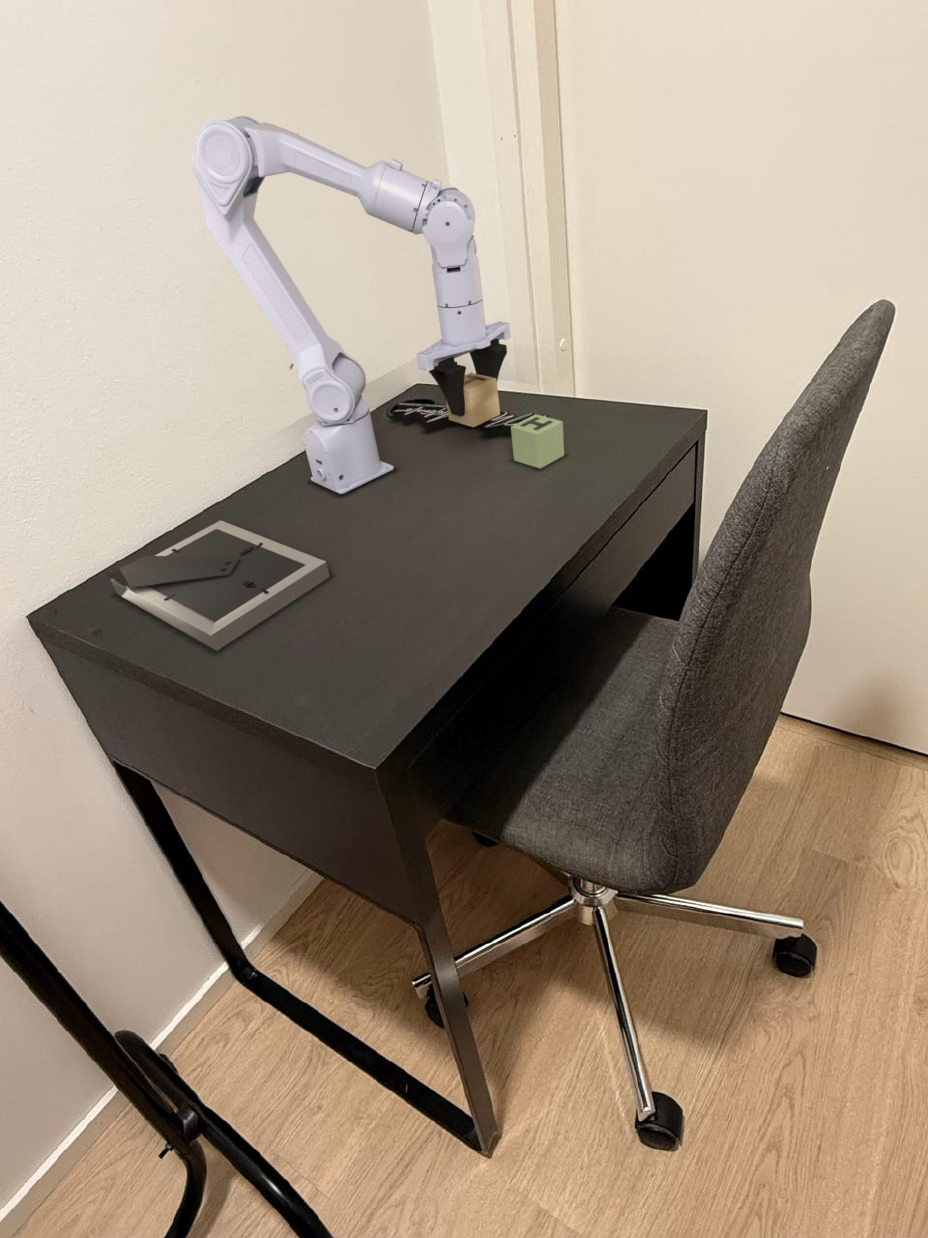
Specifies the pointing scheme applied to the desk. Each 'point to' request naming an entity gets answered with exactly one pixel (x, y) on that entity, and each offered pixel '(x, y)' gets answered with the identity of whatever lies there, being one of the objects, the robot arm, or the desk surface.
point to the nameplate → (438, 418)
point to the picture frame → (219, 582)
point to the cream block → (478, 400)
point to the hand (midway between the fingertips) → (472, 407)
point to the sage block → (537, 441)
